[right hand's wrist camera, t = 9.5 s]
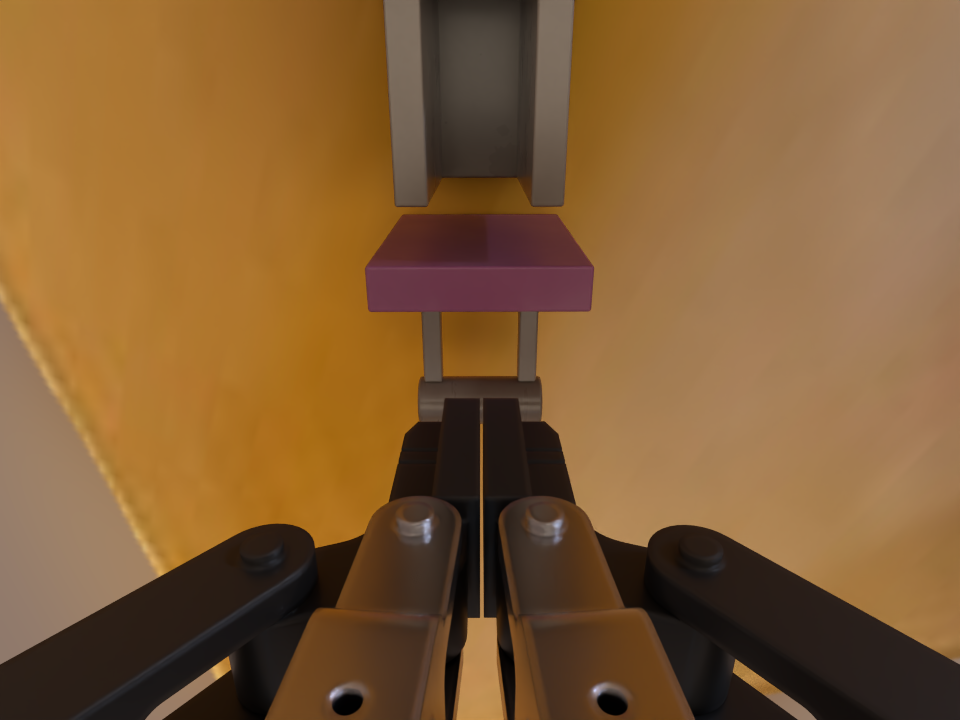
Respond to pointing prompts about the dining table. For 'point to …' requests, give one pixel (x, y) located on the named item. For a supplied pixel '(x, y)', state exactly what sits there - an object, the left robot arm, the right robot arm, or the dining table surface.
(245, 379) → the dining table surface
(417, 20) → the drawer
